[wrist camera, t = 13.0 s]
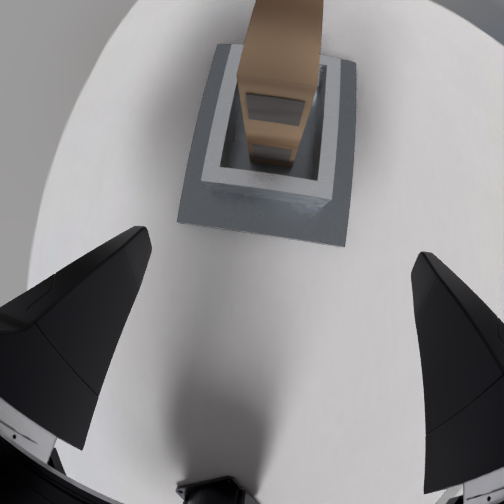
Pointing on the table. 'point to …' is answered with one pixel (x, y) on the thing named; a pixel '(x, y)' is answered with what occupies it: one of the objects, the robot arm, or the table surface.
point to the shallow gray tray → (273, 176)
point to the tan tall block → (279, 76)
